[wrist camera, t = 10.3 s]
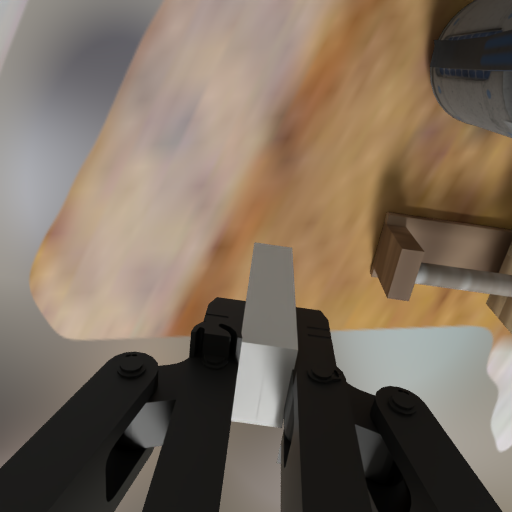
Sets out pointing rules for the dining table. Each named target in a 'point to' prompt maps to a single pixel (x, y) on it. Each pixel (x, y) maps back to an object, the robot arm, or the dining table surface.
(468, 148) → the dining table surface
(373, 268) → the pipe stand
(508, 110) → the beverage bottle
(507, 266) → the sleeve
